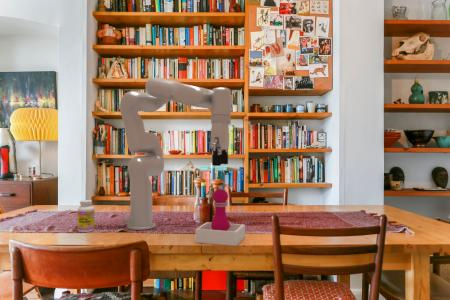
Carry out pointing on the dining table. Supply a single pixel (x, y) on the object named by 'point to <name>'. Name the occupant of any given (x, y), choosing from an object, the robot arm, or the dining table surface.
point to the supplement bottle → (85, 216)
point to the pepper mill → (220, 210)
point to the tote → (220, 234)
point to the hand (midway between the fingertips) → (220, 164)
